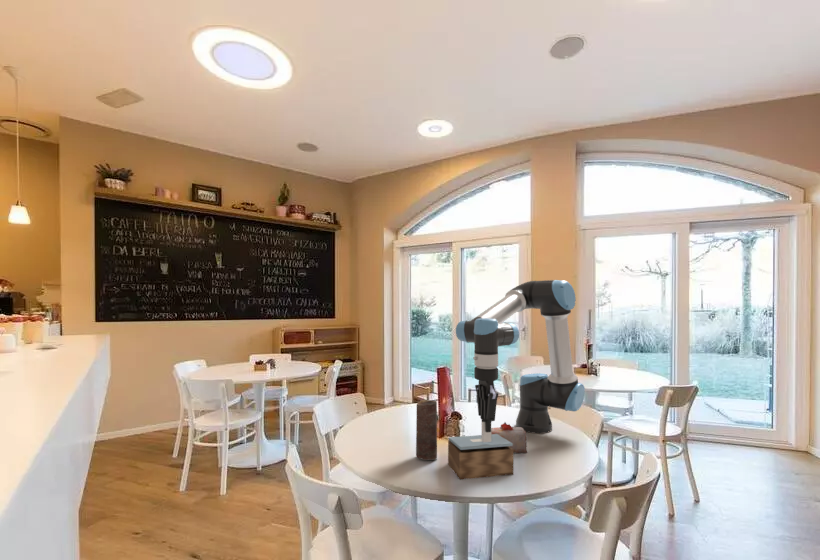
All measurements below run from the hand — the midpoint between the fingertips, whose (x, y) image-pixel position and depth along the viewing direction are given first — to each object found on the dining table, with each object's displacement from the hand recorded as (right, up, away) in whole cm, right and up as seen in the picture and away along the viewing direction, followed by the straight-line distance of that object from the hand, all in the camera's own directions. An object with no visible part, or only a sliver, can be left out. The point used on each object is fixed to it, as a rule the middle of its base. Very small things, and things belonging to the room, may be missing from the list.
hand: (486, 441), depth 131 cm
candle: (-19, -11, +13) cm, 25 cm away
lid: (-1, -2, +5) cm, 5 cm away
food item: (+11, -12, +21) cm, 27 cm away
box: (-1, -11, +4) cm, 12 cm away
